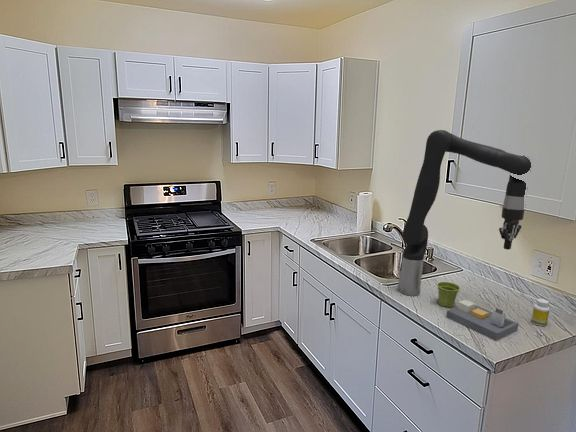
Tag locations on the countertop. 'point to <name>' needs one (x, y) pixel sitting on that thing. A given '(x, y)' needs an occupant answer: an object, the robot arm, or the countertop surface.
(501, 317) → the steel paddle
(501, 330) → the panel
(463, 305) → the ivory button
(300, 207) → the countertop surface
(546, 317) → the supplement bottle
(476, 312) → the amber button
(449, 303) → the plant pot
